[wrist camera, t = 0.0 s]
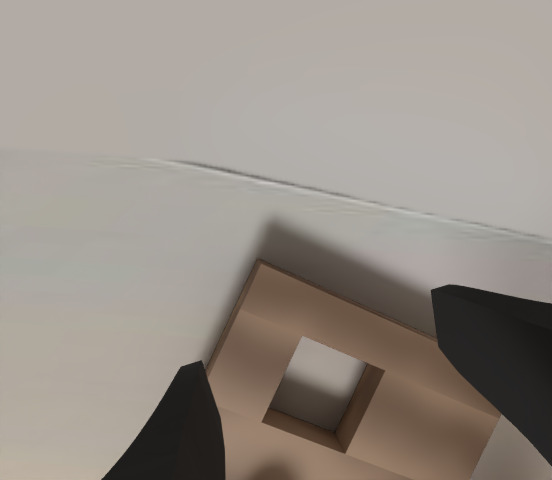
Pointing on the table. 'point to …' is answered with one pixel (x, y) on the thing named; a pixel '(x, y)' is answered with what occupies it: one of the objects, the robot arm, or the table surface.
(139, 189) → the table surface
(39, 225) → the table surface
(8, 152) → the table surface
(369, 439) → the board
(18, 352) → the table surface
